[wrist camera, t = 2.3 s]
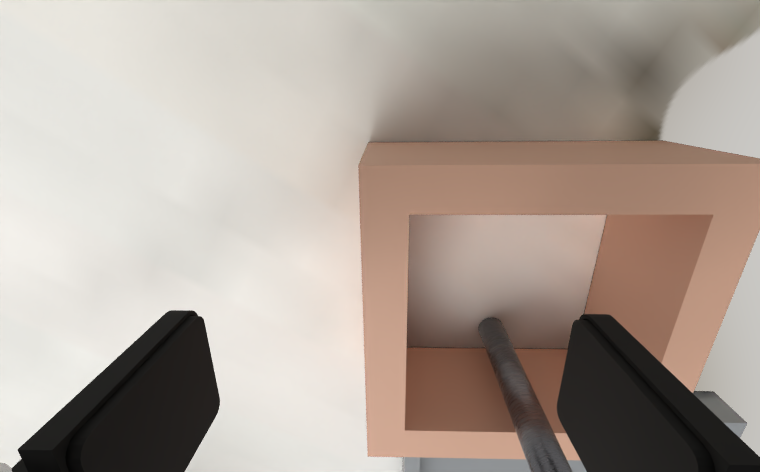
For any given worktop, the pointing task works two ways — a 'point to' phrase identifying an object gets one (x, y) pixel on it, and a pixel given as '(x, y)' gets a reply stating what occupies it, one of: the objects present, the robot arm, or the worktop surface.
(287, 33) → the worktop surface
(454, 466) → the tray
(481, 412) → the ring
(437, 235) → the worktop surface
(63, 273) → the worktop surface
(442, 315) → the worktop surface
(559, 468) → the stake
